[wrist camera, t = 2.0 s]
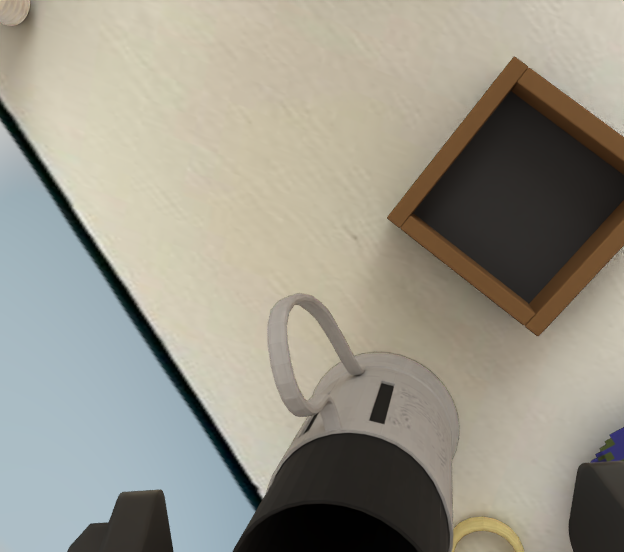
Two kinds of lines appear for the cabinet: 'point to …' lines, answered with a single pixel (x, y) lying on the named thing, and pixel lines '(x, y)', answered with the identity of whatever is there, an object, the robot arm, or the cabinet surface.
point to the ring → (486, 525)
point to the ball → (612, 448)
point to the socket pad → (522, 197)
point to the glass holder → (358, 453)
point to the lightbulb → (13, 11)
